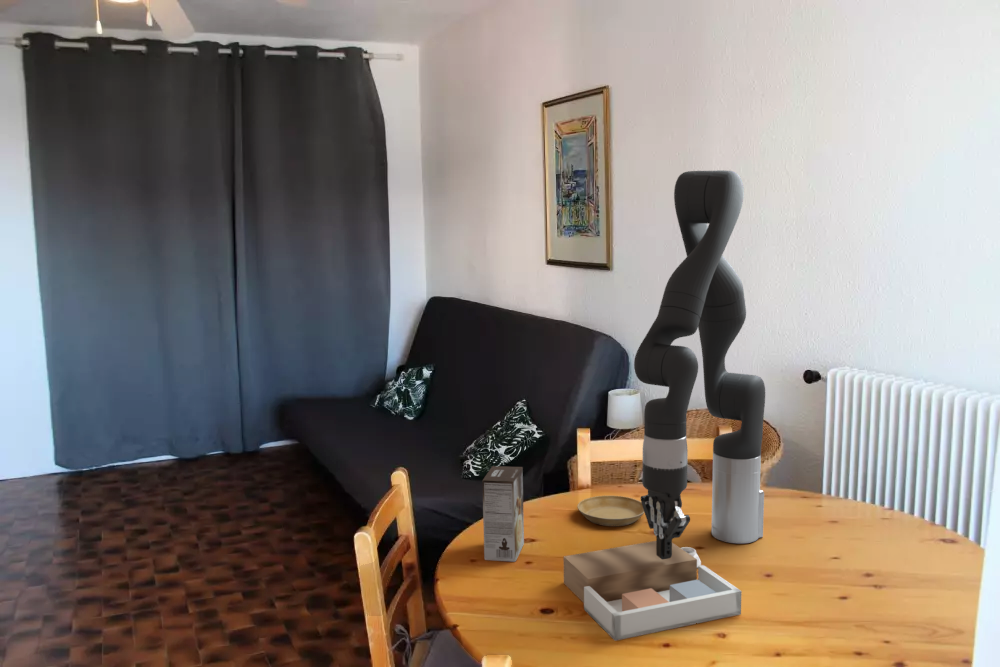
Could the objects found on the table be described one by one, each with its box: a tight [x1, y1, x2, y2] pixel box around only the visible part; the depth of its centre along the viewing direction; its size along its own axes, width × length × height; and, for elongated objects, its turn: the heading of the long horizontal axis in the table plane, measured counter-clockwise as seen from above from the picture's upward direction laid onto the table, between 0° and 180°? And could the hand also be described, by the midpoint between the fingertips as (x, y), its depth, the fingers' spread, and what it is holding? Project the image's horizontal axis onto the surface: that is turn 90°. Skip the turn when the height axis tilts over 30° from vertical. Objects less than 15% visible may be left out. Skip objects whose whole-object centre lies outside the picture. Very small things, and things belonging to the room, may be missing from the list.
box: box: [583, 564, 743, 641], centre depth 138 cm, size 23×11×4 cm, turn 110°
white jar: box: [680, 546, 702, 569], centre depth 157 cm, size 5×3×5 cm
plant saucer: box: [577, 495, 645, 527], centre depth 182 cm, size 15×15×3 cm
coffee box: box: [481, 465, 525, 563], centre depth 163 cm, size 9×6×16 cm
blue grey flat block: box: [669, 579, 716, 602], centre depth 139 cm, size 6×6×3 cm
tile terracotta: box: [622, 588, 668, 611], centre depth 136 cm, size 6×6×3 cm
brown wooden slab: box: [563, 540, 698, 604], centre depth 149 cm, size 21×10×5 cm, turn 110°
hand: (663, 557), depth 146 cm, fingers closed
